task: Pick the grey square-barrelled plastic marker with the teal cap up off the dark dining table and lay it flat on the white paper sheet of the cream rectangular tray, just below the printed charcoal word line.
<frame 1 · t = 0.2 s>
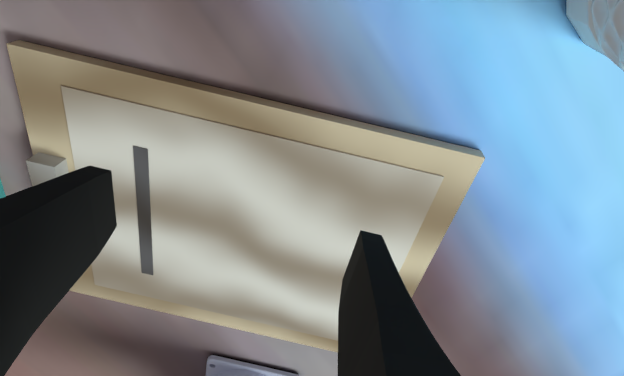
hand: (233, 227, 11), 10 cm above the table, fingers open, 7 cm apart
cream rectangular tray: (236, 229, 24), on the table
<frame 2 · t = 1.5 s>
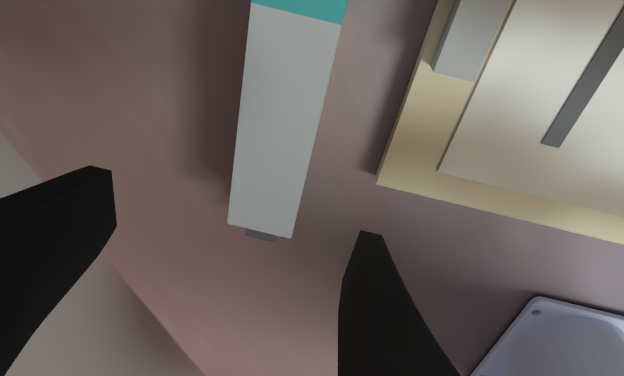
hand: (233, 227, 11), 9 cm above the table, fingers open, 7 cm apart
marker: (286, 115, 18), on the table
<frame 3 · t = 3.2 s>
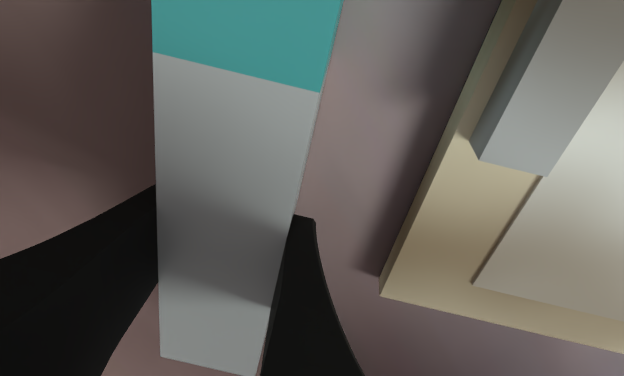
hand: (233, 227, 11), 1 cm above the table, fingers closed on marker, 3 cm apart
marker: (246, 199, 12), on the table, touching gripper
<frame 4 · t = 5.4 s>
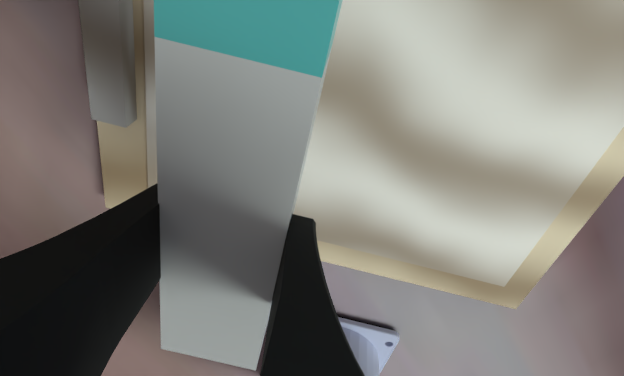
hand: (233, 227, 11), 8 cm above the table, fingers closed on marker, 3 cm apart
marker: (247, 191, 12), point 7 cm above the table, touching gripper
cream rectangular tray: (358, 107, 17), on the table
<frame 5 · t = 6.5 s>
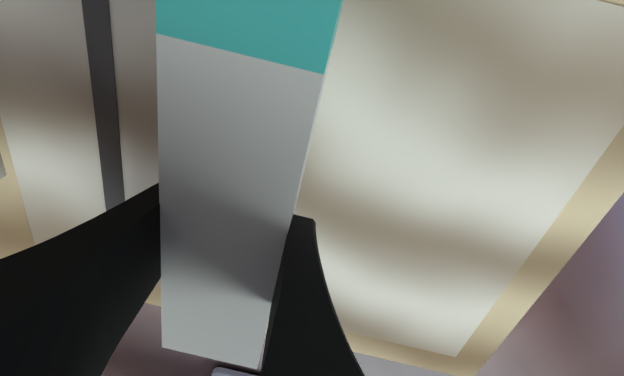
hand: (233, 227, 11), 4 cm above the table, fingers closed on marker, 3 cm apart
marker: (248, 189, 12), point 3 cm above the table, touching gripper
cream rectangular tray: (264, 160, 14), on the table
when the fingers open (3 cm above the table, at t = 7.4 s): marker stays where it is, resting on cream rectangular tray.
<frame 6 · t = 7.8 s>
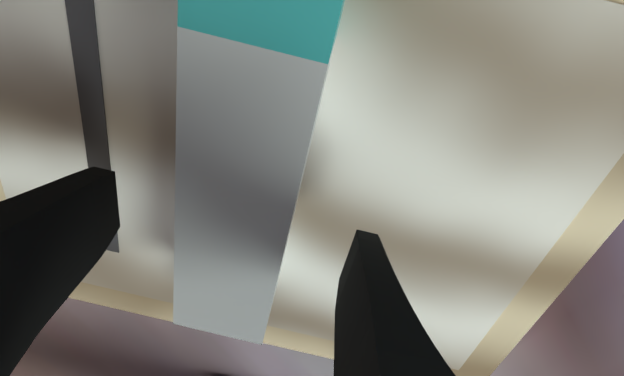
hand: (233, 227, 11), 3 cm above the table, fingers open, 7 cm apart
marker: (254, 175, 13), point 1 cm above the table, touching cream rectangular tray
cream rectangular tray: (260, 168, 14), on the table
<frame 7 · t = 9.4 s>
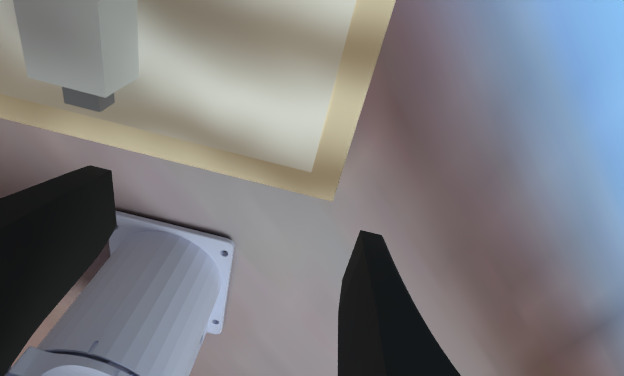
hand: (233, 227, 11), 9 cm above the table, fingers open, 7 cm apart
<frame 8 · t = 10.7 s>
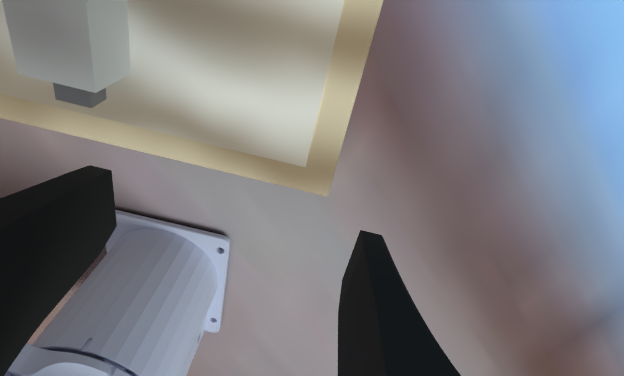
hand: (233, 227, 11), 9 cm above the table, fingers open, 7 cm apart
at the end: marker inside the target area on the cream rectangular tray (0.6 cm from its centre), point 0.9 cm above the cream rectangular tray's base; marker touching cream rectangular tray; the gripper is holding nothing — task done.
